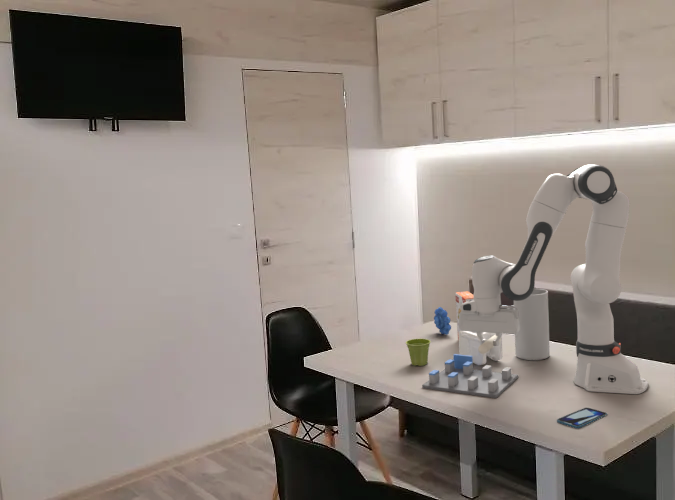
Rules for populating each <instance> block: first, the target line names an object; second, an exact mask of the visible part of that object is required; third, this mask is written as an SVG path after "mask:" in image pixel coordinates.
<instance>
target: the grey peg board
mask: <svg viewBox="0 0 675 500" xmlns="http://www.w3.org/2000/svg"><path fill="white" fill-rule="evenodd" d="M452 356H453V357H452V358H453V359H450V358H449V359H447V360H446V361H444V369H443V370H441V371H440V369H433V370H431V371H430V372H429V373H428V380H426V382H424V383H423V384H422V385H421V387H422V389H427V390H435V391H441V392H451V393H458V394H463V395H472V396H479V397H484V398H485V397H486V398H492V399H497V398H498V397H499V396H500V395H501V394H502V393H503V392H504V391H505V390H506V389H508V388H509V387H510V386H511V385H512V384H513V383H514V382H515V381H517V379H518V378H519V374H514V373H512V367H508V366H507V367H504V368H503V369H502V370H501V372H500V371H499V372H497V371H493V367H492V365H488V364H486V365H484V366H483V367H482V368H481V370H480V369H474V363H473V356H469V355H460V354H459V353H453V355H452Z"/></svg>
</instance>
